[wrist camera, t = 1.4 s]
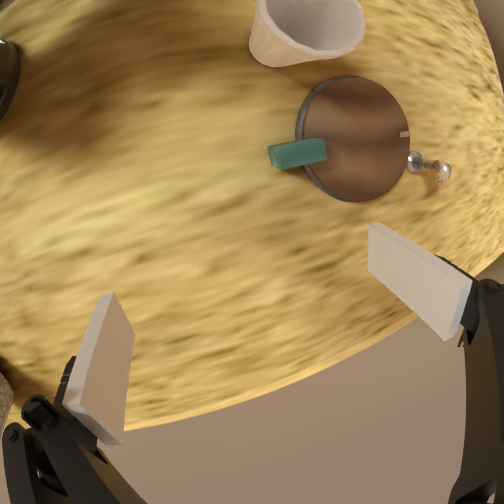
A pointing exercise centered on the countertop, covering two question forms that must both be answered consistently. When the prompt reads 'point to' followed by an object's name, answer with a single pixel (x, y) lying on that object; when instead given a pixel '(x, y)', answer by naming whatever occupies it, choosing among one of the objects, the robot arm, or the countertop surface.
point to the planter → (4, 401)
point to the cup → (305, 30)
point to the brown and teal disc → (350, 140)
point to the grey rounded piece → (429, 166)
